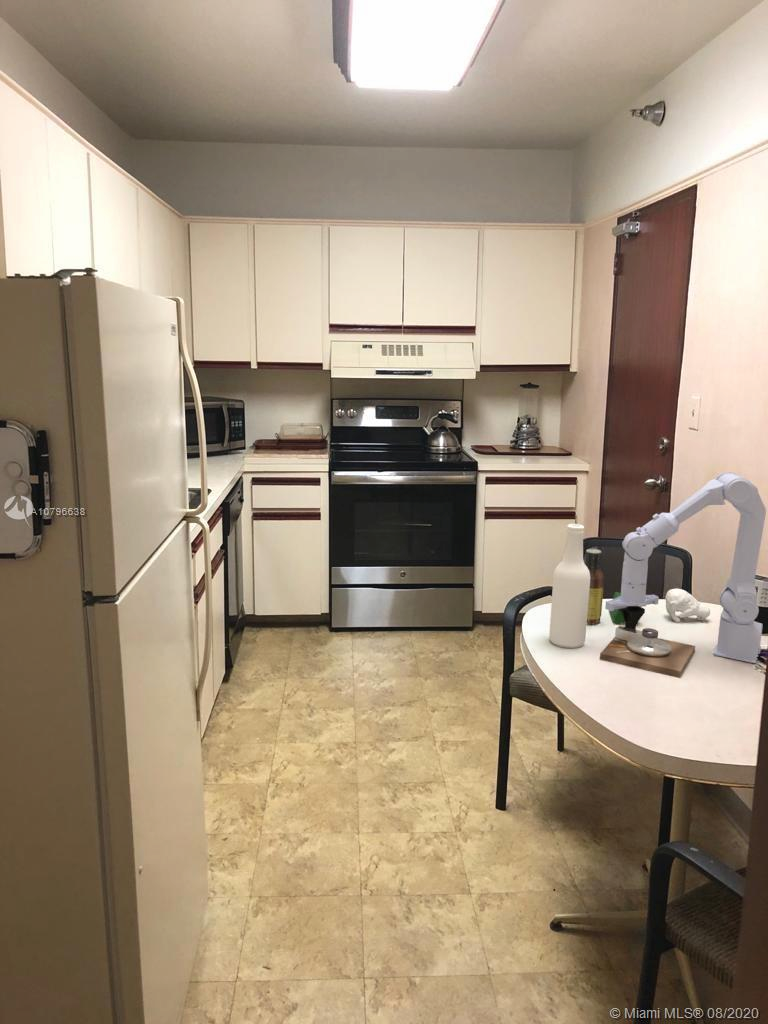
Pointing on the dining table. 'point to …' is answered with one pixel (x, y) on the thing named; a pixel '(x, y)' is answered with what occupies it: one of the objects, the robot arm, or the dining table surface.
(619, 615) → the clamp
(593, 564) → the sauce bottle
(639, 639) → the dial
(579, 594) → the white bottle
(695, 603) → the white lumpy piece
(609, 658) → the dial plate
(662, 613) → the dining table surface
